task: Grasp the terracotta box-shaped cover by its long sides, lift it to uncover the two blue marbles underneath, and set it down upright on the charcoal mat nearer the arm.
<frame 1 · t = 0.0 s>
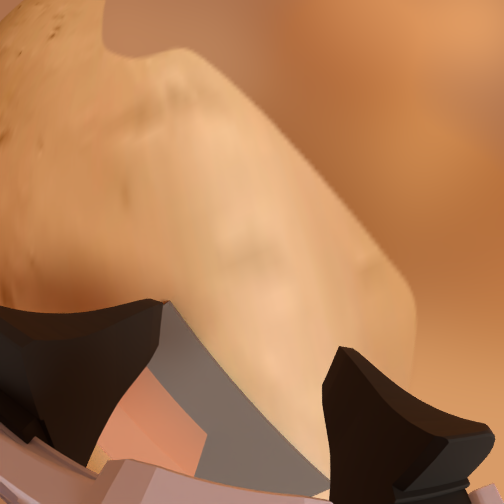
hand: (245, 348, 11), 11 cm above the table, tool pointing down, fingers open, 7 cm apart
terracotta cover: (146, 402, 22), resting on charcoal mat
charcoal mat: (213, 441, 22), on the table
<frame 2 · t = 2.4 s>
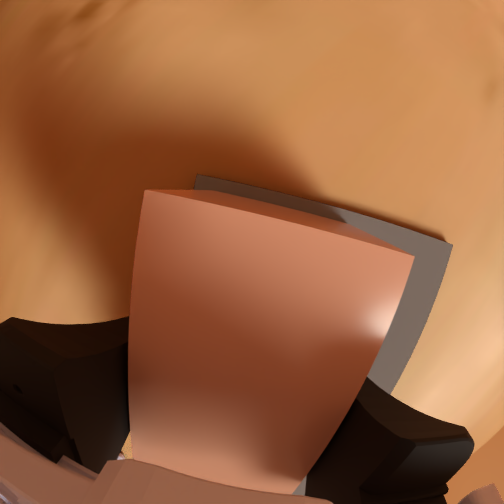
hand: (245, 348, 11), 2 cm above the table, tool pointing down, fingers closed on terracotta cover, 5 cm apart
terracotta cover: (249, 332, 12), point 1 cm above the table, touching charcoal mat, gripper
charcoal mat: (262, 433, 14), on the table
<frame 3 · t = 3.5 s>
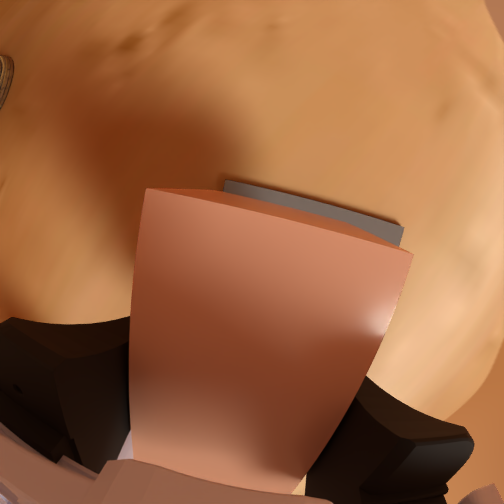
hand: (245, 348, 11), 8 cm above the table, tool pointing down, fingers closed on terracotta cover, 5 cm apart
terracotta cover: (249, 331, 12), point 6 cm above the table, touching gripper
charcoal mat: (268, 375, 20), on the table
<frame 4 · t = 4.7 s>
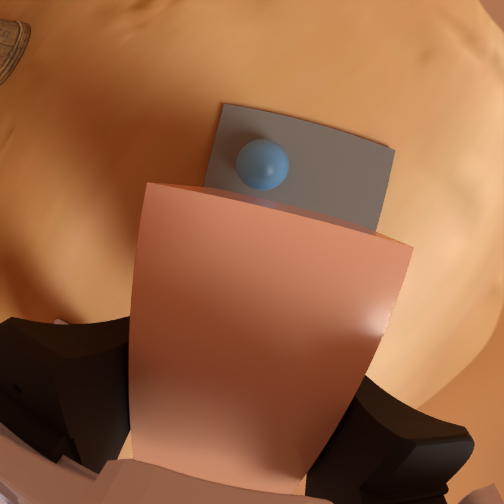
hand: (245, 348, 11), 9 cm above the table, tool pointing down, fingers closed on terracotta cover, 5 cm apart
terracotta cover: (249, 329, 12), point 7 cm above the table, touching gripper
wooden mug: (5, 48, 17), on the table
charcoal mat: (263, 307, 20), on the table
blue marble 2: (263, 166, 17), resting on charcoal mat
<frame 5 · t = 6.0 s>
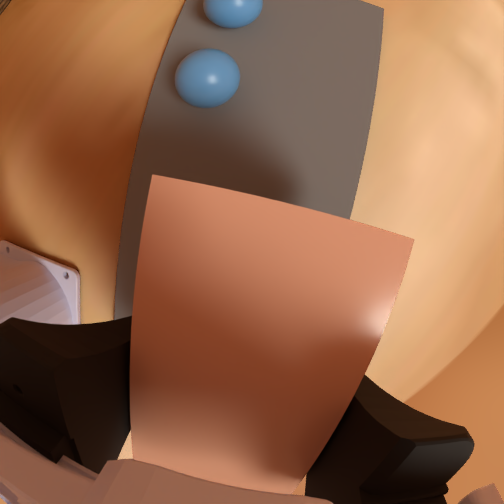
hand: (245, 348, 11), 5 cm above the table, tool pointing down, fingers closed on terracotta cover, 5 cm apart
terracotta cover: (250, 328, 12), point 3 cm above the table, touching gripper
charcoal mat: (238, 178, 14), on the table
blue marble 1: (214, 88, 13), resting on charcoal mat
blue marble 2: (236, 18, 12), resting on charcoal mat
when the fingers open (3 cm above the table, at t = 7.2 s): terracotta cover drops 1 cm, resting on charcoal mat.
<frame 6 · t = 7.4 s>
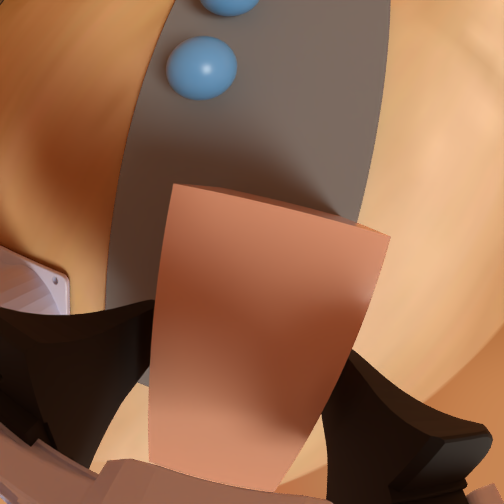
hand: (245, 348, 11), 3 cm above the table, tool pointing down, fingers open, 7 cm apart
terracotta cover: (253, 315, 14), resting on charcoal mat
charcoal mat: (236, 176, 13), on the table
blue marble 1: (209, 80, 11), resting on charcoal mat
blue marble 2: (234, 6, 10), resting on charcoal mat
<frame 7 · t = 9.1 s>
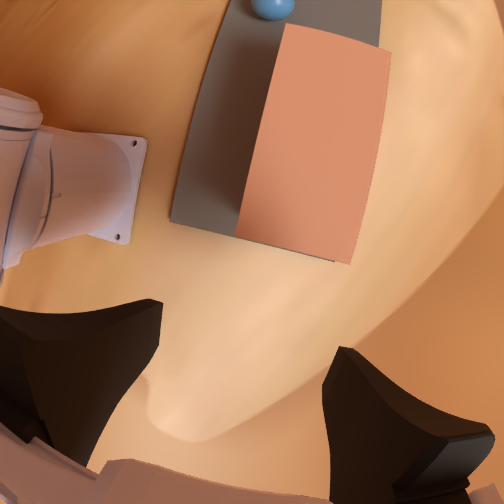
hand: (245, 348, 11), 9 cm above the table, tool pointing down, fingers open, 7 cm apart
terracotta cover: (308, 150, 17), resting on charcoal mat
charcoal mat: (292, 65, 17), on the table
blue marble 1: (273, 13, 15), resting on charcoal mat
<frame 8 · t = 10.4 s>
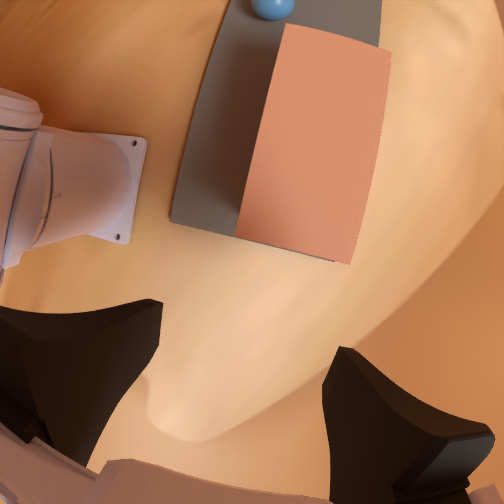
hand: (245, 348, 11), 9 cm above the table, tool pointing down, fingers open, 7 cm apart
terracotta cover: (308, 150, 17), resting on charcoal mat
charcoal mat: (292, 65, 17), on the table
blue marble 1: (273, 13, 15), resting on charcoal mat
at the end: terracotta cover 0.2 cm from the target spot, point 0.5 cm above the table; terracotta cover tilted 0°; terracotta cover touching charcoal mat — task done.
